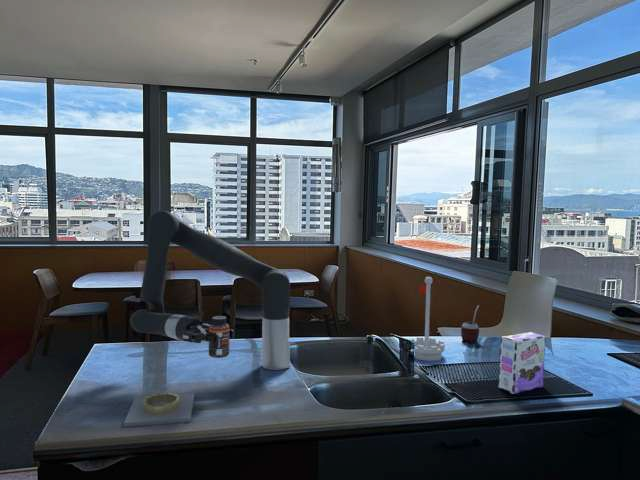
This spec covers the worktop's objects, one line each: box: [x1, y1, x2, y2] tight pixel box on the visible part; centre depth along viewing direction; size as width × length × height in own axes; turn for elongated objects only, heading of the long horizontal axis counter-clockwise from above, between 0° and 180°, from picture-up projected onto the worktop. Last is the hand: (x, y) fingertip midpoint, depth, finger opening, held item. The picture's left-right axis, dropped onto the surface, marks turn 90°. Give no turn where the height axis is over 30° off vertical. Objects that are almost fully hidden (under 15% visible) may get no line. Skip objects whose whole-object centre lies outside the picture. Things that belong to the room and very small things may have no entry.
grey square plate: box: [123, 392, 195, 428], centre depth 125 cm, size 16×16×1 cm
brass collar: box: [143, 392, 180, 415], centre depth 125 cm, size 9×9×2 cm
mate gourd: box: [460, 304, 480, 345], centre depth 193 cm, size 8×8×15 cm
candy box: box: [498, 331, 546, 395], centre depth 144 cm, size 14×6×16 cm, turn 117°
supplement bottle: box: [208, 315, 230, 359], centre depth 136 cm, size 6×6×11 cm
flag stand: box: [409, 276, 446, 362], centre depth 174 cm, size 13×13×30 cm
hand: (225, 336), depth 134 cm, fingers closed on supplement bottle, 6 cm apart
